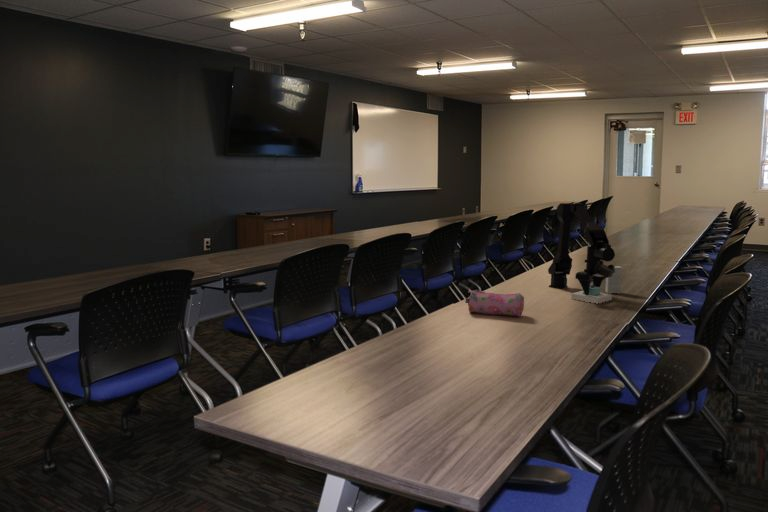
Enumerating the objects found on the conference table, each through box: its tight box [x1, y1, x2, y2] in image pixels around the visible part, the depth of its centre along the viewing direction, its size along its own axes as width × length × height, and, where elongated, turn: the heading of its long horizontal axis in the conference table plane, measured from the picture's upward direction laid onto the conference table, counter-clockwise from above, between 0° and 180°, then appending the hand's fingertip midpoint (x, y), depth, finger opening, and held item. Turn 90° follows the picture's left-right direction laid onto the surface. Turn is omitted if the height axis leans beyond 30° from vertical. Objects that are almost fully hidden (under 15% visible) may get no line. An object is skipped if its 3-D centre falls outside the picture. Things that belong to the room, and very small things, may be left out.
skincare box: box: [604, 265, 623, 295], centre depth 274 cm, size 6×4×12 cm
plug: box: [582, 284, 601, 296], centre depth 259 cm, size 5×5×6 cm
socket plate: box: [570, 290, 613, 305], centre depth 260 cm, size 12×12×2 cm
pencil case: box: [464, 289, 525, 318], centre depth 232 cm, size 21×9×9 cm, turn 68°
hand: (591, 293), depth 259 cm, fingers open, 8 cm apart
